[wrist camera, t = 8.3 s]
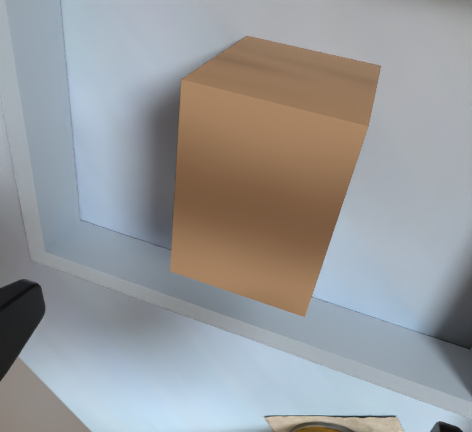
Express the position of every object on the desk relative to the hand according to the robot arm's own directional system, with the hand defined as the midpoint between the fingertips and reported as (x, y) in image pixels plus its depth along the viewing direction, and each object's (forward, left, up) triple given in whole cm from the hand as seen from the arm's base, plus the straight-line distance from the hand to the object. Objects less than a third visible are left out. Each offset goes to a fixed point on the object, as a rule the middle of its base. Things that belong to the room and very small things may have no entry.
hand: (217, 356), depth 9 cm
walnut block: (+1, 0, -11) cm, 11 cm away
